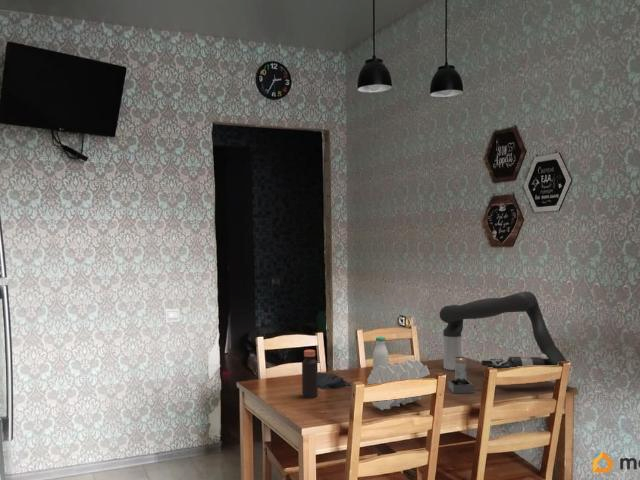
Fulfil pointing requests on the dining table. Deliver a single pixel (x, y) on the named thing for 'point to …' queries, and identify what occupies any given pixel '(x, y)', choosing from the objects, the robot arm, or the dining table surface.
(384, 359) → the milk bottle
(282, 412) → the dining table surface
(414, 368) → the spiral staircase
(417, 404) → the dining table surface
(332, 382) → the dark slate chunk
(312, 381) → the vinegar
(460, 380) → the grey cylinder
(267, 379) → the dining table surface
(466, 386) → the socket
